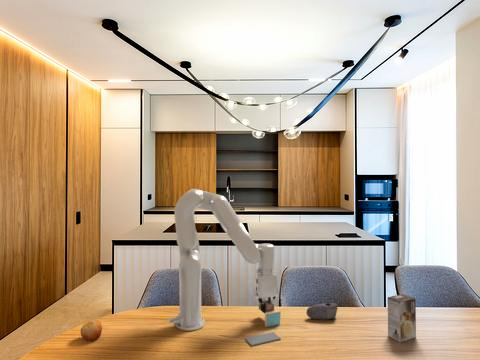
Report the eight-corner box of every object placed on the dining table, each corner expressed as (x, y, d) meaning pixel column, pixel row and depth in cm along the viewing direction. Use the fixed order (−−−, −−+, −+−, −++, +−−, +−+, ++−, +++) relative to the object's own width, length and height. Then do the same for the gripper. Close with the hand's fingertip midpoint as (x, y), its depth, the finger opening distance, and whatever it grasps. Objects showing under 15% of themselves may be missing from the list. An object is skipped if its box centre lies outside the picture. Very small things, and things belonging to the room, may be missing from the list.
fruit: (109, 330, 137) (102, 317, 133) (97, 347, 131) (90, 335, 127) (94, 327, 140) (86, 315, 136) (82, 344, 133) (73, 332, 129)
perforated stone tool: (307, 321, 149) (307, 306, 149) (305, 316, 154) (305, 301, 154) (340, 321, 149) (340, 305, 149) (336, 316, 154) (336, 301, 154)
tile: (266, 327, 143) (266, 314, 142) (264, 325, 144) (265, 312, 144) (280, 324, 145) (280, 311, 145) (278, 322, 147) (278, 309, 147)
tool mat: (251, 346, 126) (251, 344, 126) (245, 339, 132) (245, 337, 132) (280, 339, 132) (280, 338, 132) (273, 333, 137) (273, 331, 137)
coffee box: (402, 331, 139) (402, 293, 139) (416, 337, 133) (416, 298, 133) (387, 335, 135) (387, 296, 135) (400, 342, 129) (400, 302, 129)
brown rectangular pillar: (269, 317, 145) (269, 305, 145) (258, 309, 154) (258, 298, 154) (274, 316, 146) (274, 305, 146) (263, 308, 155) (263, 297, 155)
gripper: (254, 275, 143) (254, 317, 143) (285, 271, 150) (285, 311, 150) (246, 271, 150) (246, 311, 150) (277, 267, 157) (277, 305, 157)
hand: (266, 311), depth 150 cm, fingers closed on brown rectangular pillar, 2 cm apart
